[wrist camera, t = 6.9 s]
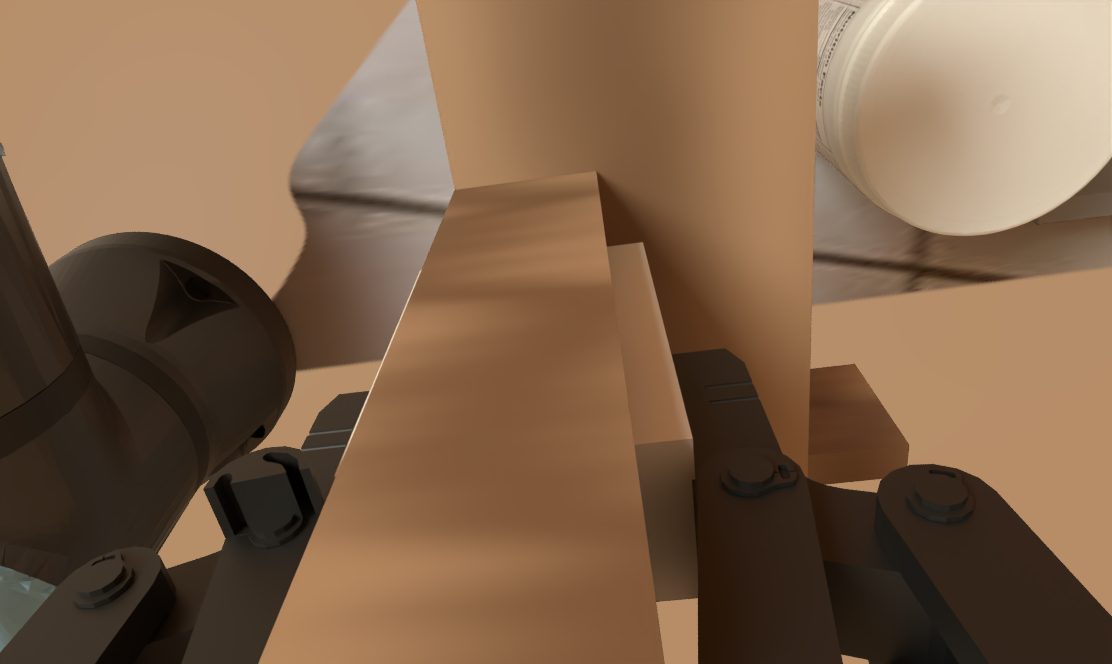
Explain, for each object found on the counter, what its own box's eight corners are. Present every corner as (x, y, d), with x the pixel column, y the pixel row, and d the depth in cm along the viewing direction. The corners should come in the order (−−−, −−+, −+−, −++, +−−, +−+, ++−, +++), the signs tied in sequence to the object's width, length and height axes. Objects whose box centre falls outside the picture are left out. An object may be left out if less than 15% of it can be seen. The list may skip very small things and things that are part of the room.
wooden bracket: (528, 427, 24) (475, 1166, 10) (442, -28, 18) (-43, 144, 4) (853, 391, 23) (1318, 1132, 9) (879, -95, 17) (2487, -218, 3)
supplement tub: (974, -66, 35) (1216, -64, 22) (929, 139, 40) (1108, 241, 27) (765, -64, 35) (883, -60, 22) (743, 140, 40) (831, 243, 27)
